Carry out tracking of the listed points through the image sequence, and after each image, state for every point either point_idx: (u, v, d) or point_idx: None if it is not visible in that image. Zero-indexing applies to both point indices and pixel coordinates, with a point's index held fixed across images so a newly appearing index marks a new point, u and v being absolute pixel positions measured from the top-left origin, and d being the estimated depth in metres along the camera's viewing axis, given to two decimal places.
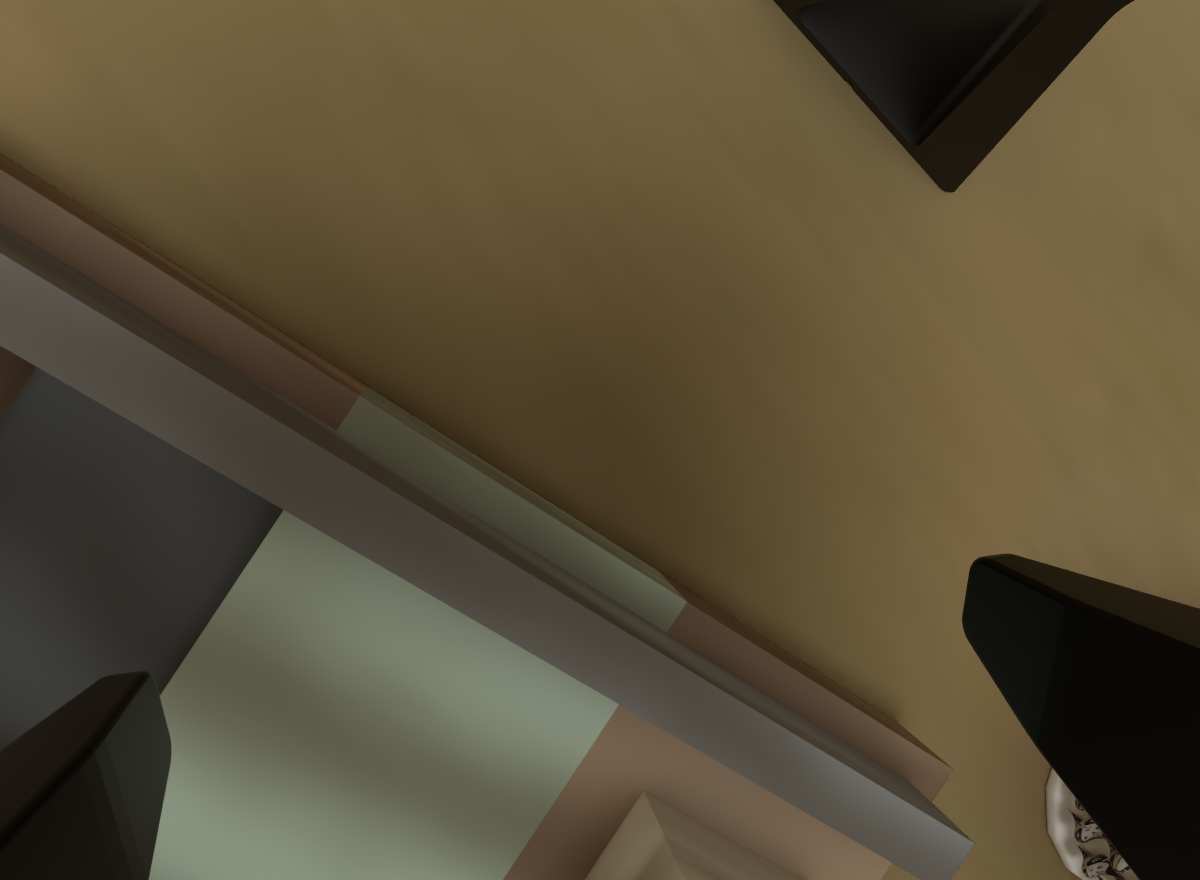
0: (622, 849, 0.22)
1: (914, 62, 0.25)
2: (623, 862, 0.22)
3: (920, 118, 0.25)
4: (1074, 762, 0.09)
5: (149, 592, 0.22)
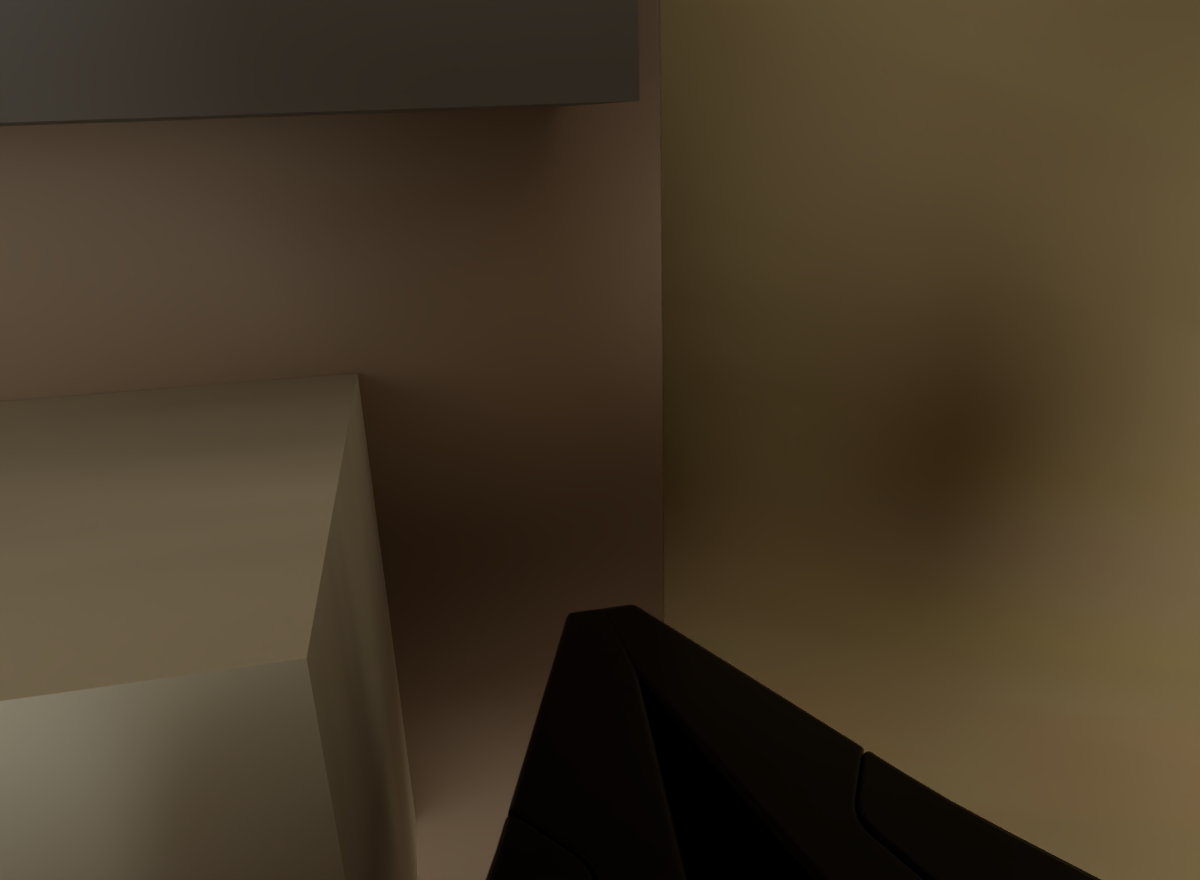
0: None
1: None
2: None
3: None
4: None
5: None
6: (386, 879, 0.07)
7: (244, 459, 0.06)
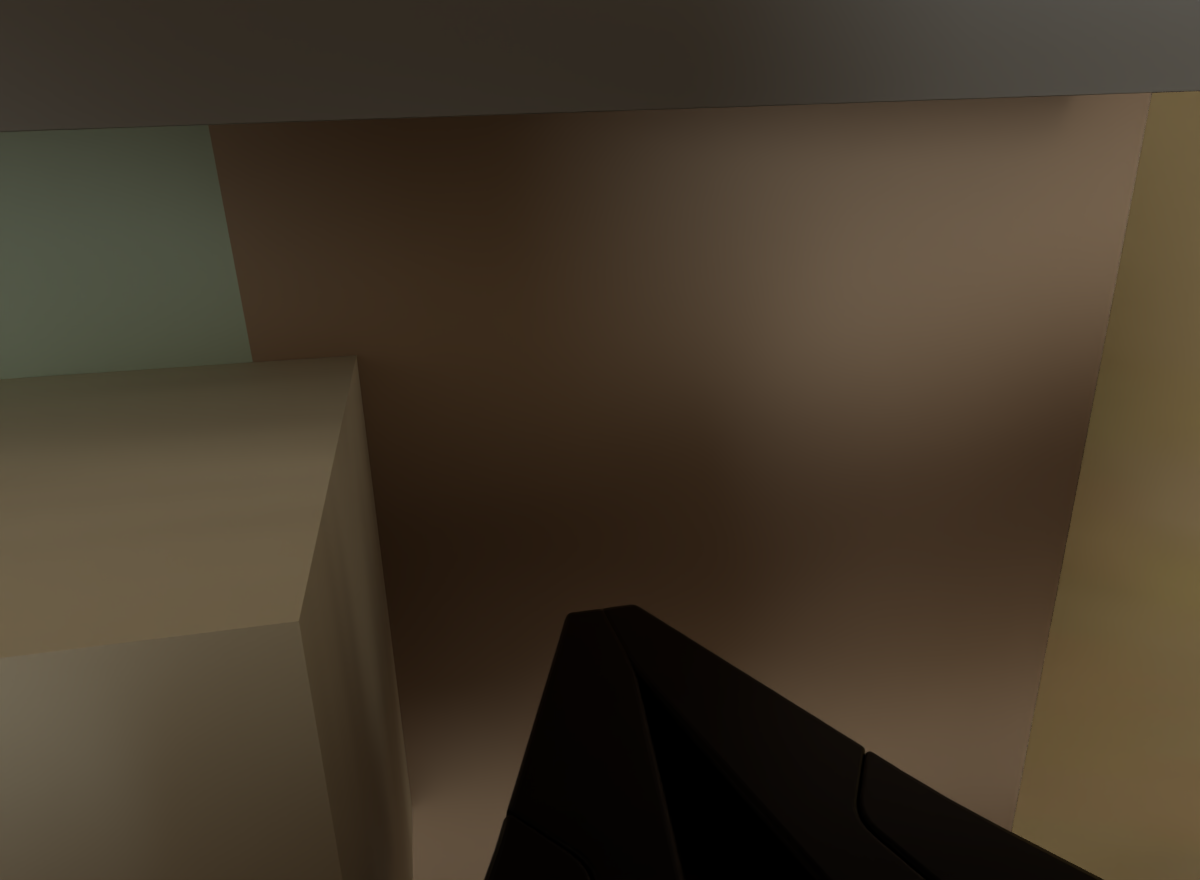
0: None
1: None
2: None
3: None
4: None
5: None
6: (380, 858, 0.07)
7: (240, 436, 0.06)
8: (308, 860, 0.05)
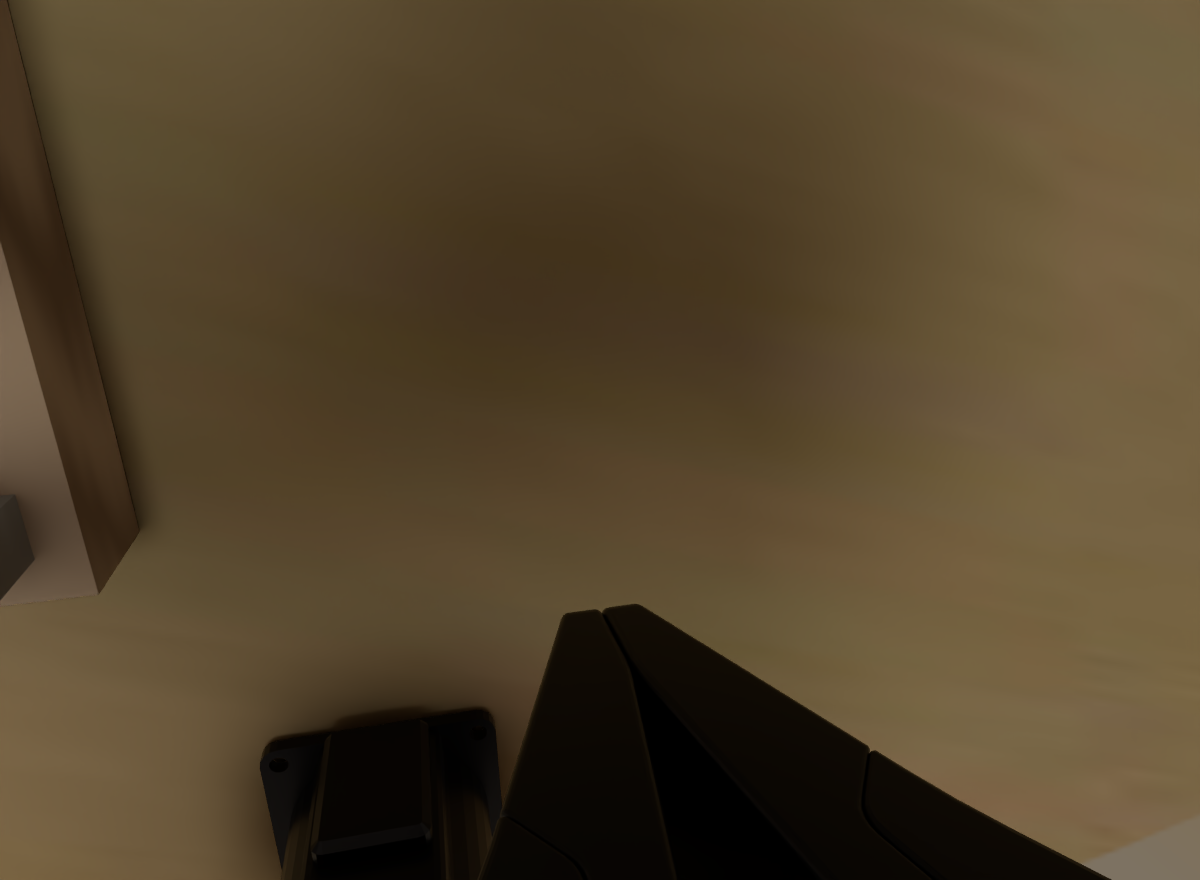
0: None
1: None
2: None
3: None
4: None
5: None
6: None
7: None
8: None
